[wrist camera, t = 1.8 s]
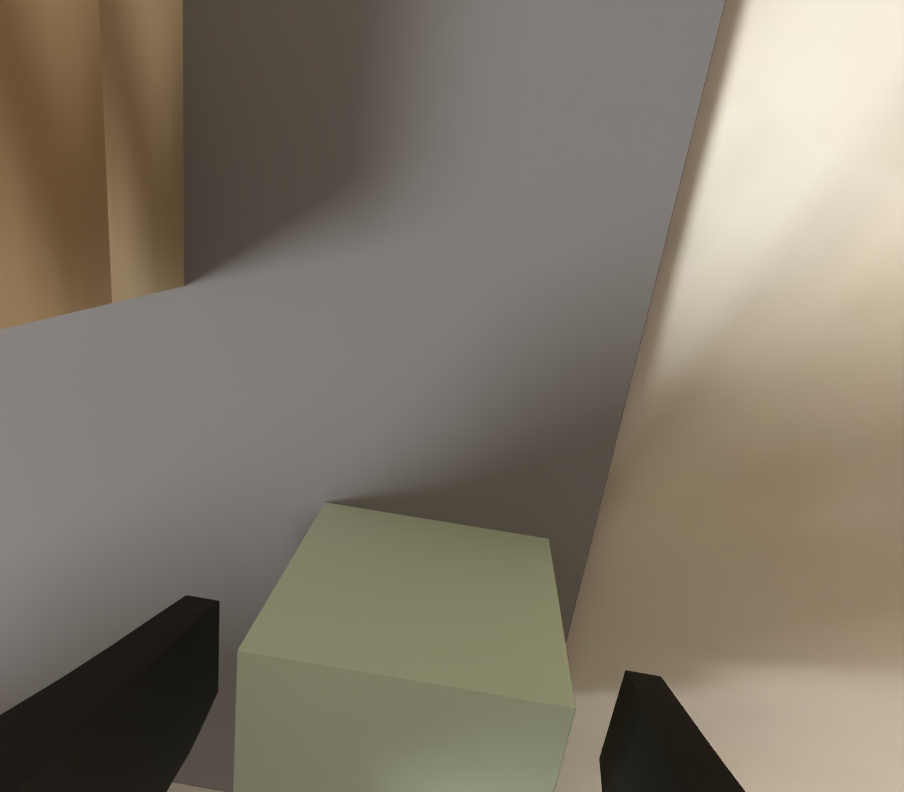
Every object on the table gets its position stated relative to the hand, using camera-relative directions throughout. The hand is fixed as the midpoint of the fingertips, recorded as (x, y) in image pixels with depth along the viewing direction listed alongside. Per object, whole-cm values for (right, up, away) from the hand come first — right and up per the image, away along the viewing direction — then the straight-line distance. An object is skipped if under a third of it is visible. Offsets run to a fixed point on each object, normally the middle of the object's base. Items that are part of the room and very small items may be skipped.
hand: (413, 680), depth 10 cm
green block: (0, +1, +2) cm, 2 cm away
